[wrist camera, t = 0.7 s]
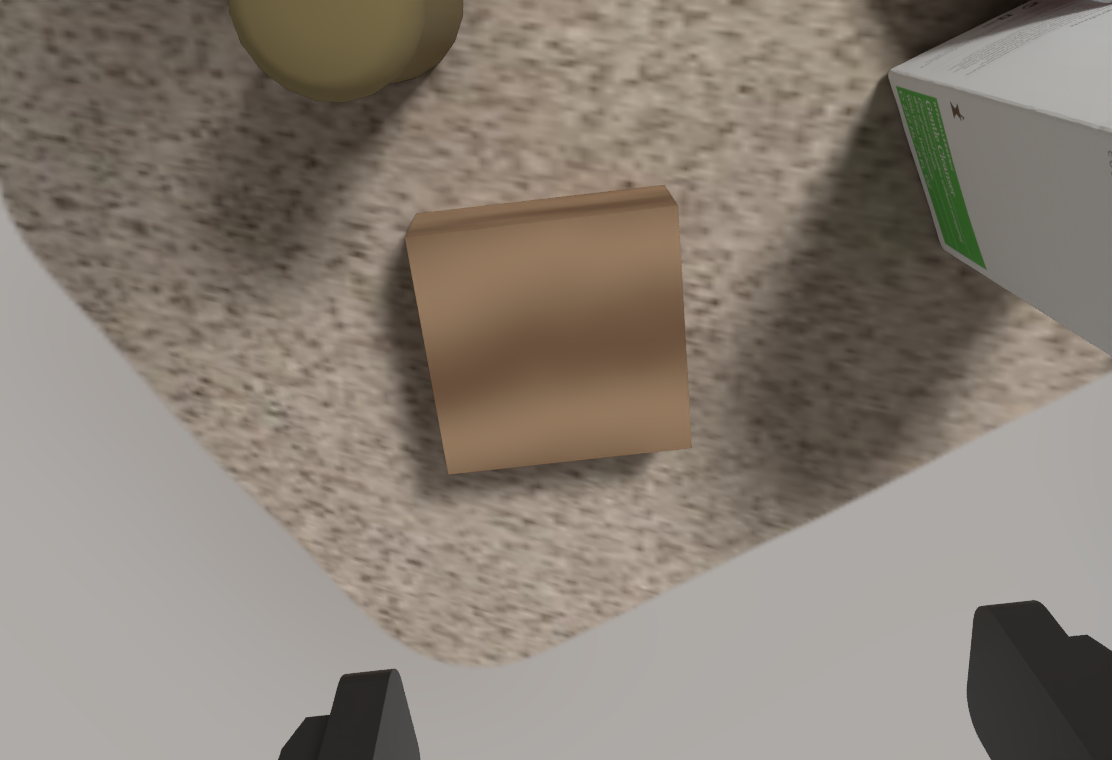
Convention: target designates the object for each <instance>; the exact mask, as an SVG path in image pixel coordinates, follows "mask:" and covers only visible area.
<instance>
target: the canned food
mask: <svg viewBox="0 0 1112 760" xmlns="http://www.w3.org/2000/svg"><path fill="white" fill-rule="evenodd" d="M1093 1H1098V2H1103V3H1110V2H1112V0H1093Z"/></svg>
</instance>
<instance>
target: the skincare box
mask: <svg viewBox="0 0 1112 760" xmlns="http://www.w3.org/2000/svg"><path fill="white" fill-rule="evenodd" d="M888 78H889V81H890V84H891V88H892V91H893V94H894V97H895V100H896V102H897V105H898V108H899V112H900V116H901V119H902V123H903V127H904V131H905V134H906V137H907V140H908V143H909V146H910V149H911V152H912V155H913V158H914V161H915V164H916V167H917V170H918V173H919V177H920V180H921V183H922V186H923V189H924V192H925V195H926V198H927V201H928V204H929V207H930V211H931V214H932V218H933V221H934V224H935V228H936V231H937V235H938V238H939V241H940V244H941V246H942V248H943V249H944V250H945V251H947V252H948V253H950V254H951V255H953V256H954V257H956V258H957V259H959V260H961V261H962V262H964V263H965V264H967V265H969V266H970V267H972V268H973V269H975V270H976V271H978V272H980V273H981V274H983V275H984V276H986V277H987V278H989V279H990V280H992V281H994V282H995V283H997V284H998V285H1000V286H1001V287H1003V288H1005V289H1006V290H1008V291H1009V292H1011V293H1013V294H1014V295H1016V296H1017V297H1019V298H1020V299H1022V300H1024V301H1025V302H1027V303H1028V304H1030V305H1032V306H1033V307H1035V308H1036V309H1038V310H1039V311H1041V312H1043V313H1044V314H1046V315H1047V316H1049V317H1051V318H1052V319H1053V320H1055V321H1057V322H1058V323H1060V324H1061V325H1063V326H1065V327H1066V328H1068V329H1070V330H1071V331H1073V332H1074V333H1076V334H1077V335H1079V336H1080V337H1082V338H1083V339H1085V340H1087V341H1088V342H1090V343H1091V344H1093V345H1095V346H1096V347H1098V348H1099V349H1101V350H1103V351H1104V352H1106V353H1107V354H1109V355H1110V356H1112V2H1110V3H1103V2H1098V1H1093V0H1031V1H1029V2H1027V3H1025V4H1023V5H1021V6H1019V7H1016V8H1014V9H1012V10H1010V11H1008V12H1006V13H1004V14H1002V15H1000V16H997V17H995V18H993V19H991V20H989V21H987V22H985V23H983V24H981V25H979V26H977V27H975V28H973V29H971V30H969V31H967V32H965V33H963V34H961V35H959V36H957V37H954V38H952V39H950V40H948V41H946V42H944V43H942V44H940V45H938V46H936V47H934V48H932V49H930V50H928V51H926V52H924V53H922V54H920V55H918V56H916V57H914V58H912V59H910V60H908V61H906V62H904V63H902V64H900V65H898V66H896V67H894V68H892V69H891V70H890V71H889V73H888Z"/></svg>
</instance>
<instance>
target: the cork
mask: <svg viewBox="0 0 1112 760" xmlns="http://www.w3.org/2000/svg"><path fill="white" fill-rule="evenodd" d="M228 1H229V13H230V16H231V18H232V21H233V24H234V26H235V29H236V31H237V34H238V37H239V39H240V42H241V44H242V45H243V47H244V48H245V49H246V51H247V52H248V53H249V55H250V56H251V57H252V59H253V60H254V61H255V63H256V64H257V65H258V67H259V68H260V69H261V70H262V71H263V72H265V73H266V74H267V75H269V76H270V77H271V78H273V79H274V80H275V81H276V82H278V83H279V84H280V85H282V86H283V87H284V88H286V89H287V90H289V91H292V92H294V93H297V94H300V95H302V96H305V97H308V98H310V99H313V100H315V101H329V102H349V101H352V100H356V99H359V98H363V97H366V96H370V95H373V94H374V93H376V92H377V91H379V90H380V89H381V88H383V87H384V86H386V85H387V84H389V83H399V82H402V81H406V80H409V79H413V78H416V77H420V76H421V75H422V74H424V73H425V72H427V71H428V70H429V69H431V68H432V67H434V66H435V65H436V64H438V63H439V62H440V61H441V60H442V58H443V57H444V56H445V54H446V53H447V51H448V50H449V49H450V47H451V46H452V45H453V43H454V42H455V39H456V36H457V33H458V30H459V27H460V23H461V20H462V17H463V0H228Z"/></svg>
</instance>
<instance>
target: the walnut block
mask: <svg viewBox="0 0 1112 760" xmlns="http://www.w3.org/2000/svg"><path fill="white" fill-rule="evenodd" d="M405 241H406V247H407V252H408V257H409V263H410V268H411V274H412V279H413V285H414V290H415V296H416V301H417V307H418V312H419V317H420V323H421V328H422V334H423V339H424V345H425V350H426V356H427V361H428V367H429V372H430V378H431V383H432V388H433V394H434V399H435V405H436V410H437V416H438V421H439V427H440V432H441V438H442V443H443V448H444V454H445V459H446V465H447V470H448V475H449V474H458V473H467V472H477V471H486V470H495V469H504V468H513V467H522V466H531V465H541V464H550V463H559V462H568V461H577V460H586V459H596V458H605V457H614V456H623V455H632V454H641V453H651V452H660V451H669V450H678V449H687V448H692V444H691V427H690V409H689V391H688V373H687V355H686V338H685V320H684V302H683V284H682V267H681V249H680V231H679V213H678V205H677V203H676V202H675V200H674V199H673V197H672V196H671V194H670V193H669V191H668V190H667V188H666V186H665V185H660V186H651V187H643V188H634V189H625V190H617V191H608V192H600V193H591V194H582V195H574V196H565V197H556V198H548V199H539V200H530V201H522V202H513V203H504V204H496V205H487V206H478V207H470V208H461V209H452V210H444V211H435V212H426V213H418V214H416V216H415V218H414V220H413V222H412V224H411V226H410V228H409V230H408V232H407V234H406V236H405Z"/></svg>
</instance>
